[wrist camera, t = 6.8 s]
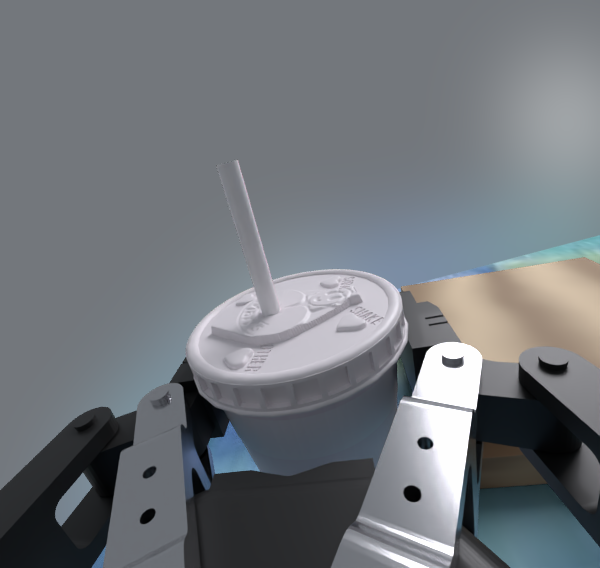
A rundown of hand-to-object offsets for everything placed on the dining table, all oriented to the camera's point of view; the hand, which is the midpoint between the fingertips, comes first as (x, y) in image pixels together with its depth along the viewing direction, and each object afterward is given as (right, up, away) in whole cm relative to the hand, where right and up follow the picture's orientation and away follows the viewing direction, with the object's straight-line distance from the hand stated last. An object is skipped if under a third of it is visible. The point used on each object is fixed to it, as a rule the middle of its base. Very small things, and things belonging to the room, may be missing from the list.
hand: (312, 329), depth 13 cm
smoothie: (+2, -8, +1) cm, 8 cm away
